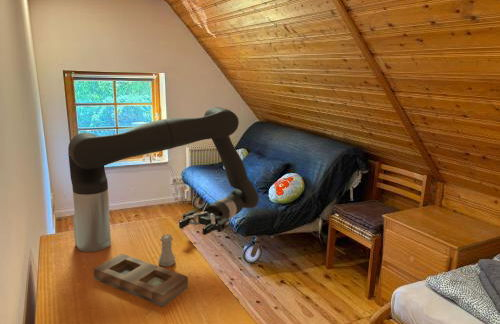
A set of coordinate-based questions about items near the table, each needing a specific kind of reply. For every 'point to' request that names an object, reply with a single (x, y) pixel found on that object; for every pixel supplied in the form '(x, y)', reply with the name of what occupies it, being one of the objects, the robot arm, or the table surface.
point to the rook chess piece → (166, 252)
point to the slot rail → (141, 279)
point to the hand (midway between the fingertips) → (191, 228)
